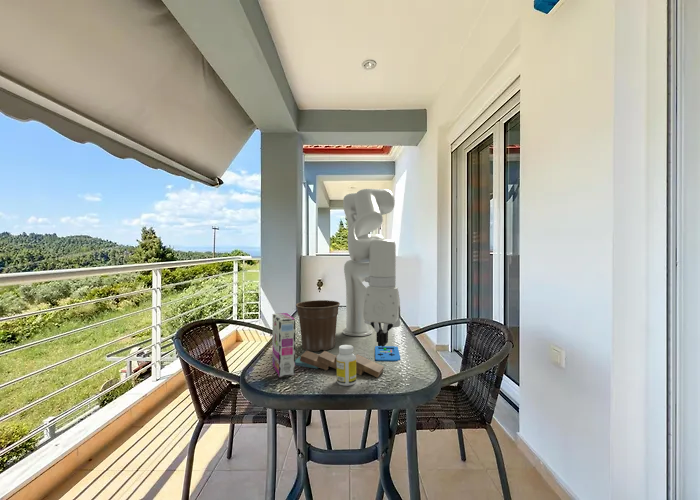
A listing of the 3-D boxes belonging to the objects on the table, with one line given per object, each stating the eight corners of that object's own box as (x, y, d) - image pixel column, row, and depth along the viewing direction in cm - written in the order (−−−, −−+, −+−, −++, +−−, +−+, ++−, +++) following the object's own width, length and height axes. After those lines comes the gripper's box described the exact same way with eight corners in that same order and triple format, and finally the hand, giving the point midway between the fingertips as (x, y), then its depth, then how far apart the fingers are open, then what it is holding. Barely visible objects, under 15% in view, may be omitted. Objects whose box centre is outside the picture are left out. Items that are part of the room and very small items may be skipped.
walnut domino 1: (327, 370, 102) (299, 360, 103) (331, 364, 106) (305, 354, 108) (328, 365, 101) (300, 355, 103) (332, 359, 106) (306, 350, 108)
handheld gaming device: (375, 358, 110) (375, 345, 125) (375, 362, 110) (375, 348, 125) (401, 359, 109) (397, 345, 124) (401, 362, 109) (397, 348, 124)
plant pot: (287, 351, 121) (287, 305, 120) (307, 339, 136) (307, 299, 136) (330, 355, 115) (330, 308, 115) (346, 342, 131) (345, 301, 130)
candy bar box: (296, 375, 98) (296, 319, 98) (279, 378, 96) (278, 320, 96) (287, 363, 108) (287, 312, 108) (271, 365, 106) (271, 313, 106)
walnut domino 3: (360, 375, 98) (333, 362, 101) (366, 369, 102) (340, 357, 106) (362, 370, 98) (335, 357, 101) (368, 364, 102) (342, 352, 106)
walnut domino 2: (343, 372, 100) (316, 360, 103) (348, 366, 105) (323, 355, 107) (345, 367, 100) (318, 355, 102) (350, 361, 105) (324, 350, 107)
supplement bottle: (355, 378, 96) (355, 343, 95) (356, 386, 90) (356, 349, 90) (336, 378, 95) (336, 343, 95) (336, 386, 90) (336, 349, 90)
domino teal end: (317, 370, 103) (291, 366, 107) (324, 365, 108) (299, 361, 111) (317, 365, 103) (291, 361, 107) (324, 360, 108) (299, 357, 111)
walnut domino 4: (377, 377, 96) (349, 364, 99) (382, 371, 100) (355, 359, 104) (379, 372, 96) (351, 359, 99) (384, 366, 100) (357, 354, 103)
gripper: (353, 282, 97) (353, 345, 98) (404, 285, 91) (404, 352, 92) (363, 279, 104) (363, 338, 105) (411, 282, 98) (410, 344, 99)
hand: (382, 345), depth 98 cm, fingers closed
